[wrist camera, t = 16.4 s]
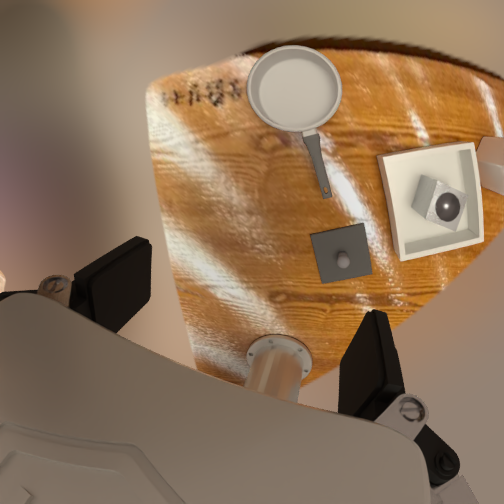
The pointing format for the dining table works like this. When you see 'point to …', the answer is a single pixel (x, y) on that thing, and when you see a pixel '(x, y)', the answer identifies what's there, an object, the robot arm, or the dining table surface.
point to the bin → (404, 188)
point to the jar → (491, 163)
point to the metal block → (439, 202)
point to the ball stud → (342, 253)
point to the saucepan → (296, 96)
